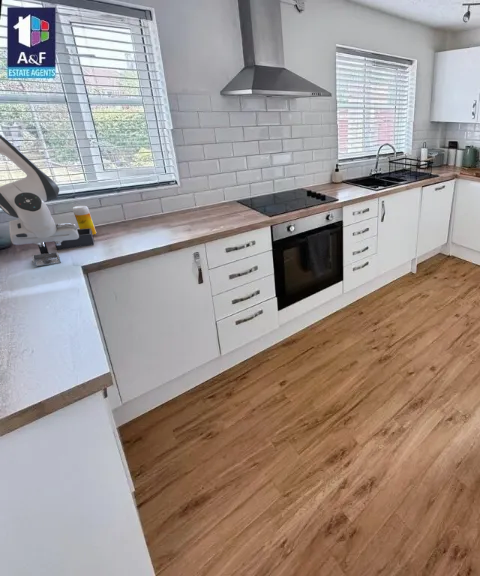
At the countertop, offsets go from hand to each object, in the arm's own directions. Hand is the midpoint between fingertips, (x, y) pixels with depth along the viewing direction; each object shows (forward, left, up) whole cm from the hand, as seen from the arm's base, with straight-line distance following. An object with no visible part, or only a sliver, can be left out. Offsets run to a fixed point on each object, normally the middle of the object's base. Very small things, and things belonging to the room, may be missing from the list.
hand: (50, 244), depth 152 cm
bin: (+7, +17, -6) cm, 19 cm away
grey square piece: (-2, -4, -6) cm, 7 cm away
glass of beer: (+12, +35, -6) cm, 37 cm away
